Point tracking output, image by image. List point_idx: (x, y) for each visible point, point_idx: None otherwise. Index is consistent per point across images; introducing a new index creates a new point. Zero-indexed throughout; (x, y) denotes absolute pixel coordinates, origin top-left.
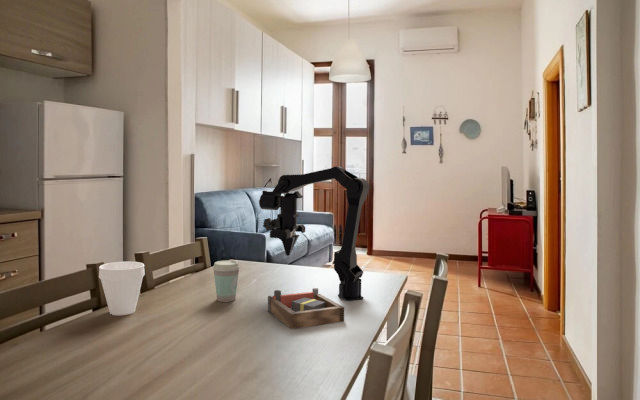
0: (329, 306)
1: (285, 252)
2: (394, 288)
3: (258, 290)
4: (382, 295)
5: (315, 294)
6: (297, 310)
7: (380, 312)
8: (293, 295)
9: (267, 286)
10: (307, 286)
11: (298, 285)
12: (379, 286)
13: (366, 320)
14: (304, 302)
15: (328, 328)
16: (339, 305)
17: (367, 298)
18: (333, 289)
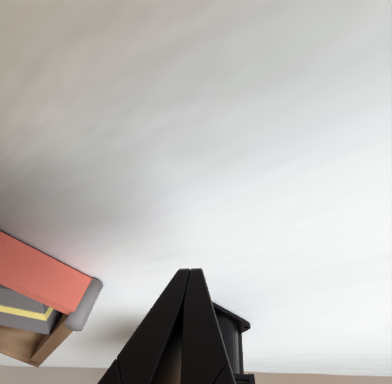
0: (46, 337)
1: (163, 291)
2: (352, 371)
3: (110, 15)
4: (269, 360)
5: (67, 317)
6: None
7: None
8: (5, 283)
9: (215, 8)
10: (298, 194)
11: (303, 155)
12: (367, 350)
13: (87, 356)
14: (4, 307)
15: None
16: (38, 361)
17: None
18: (285, 276)
